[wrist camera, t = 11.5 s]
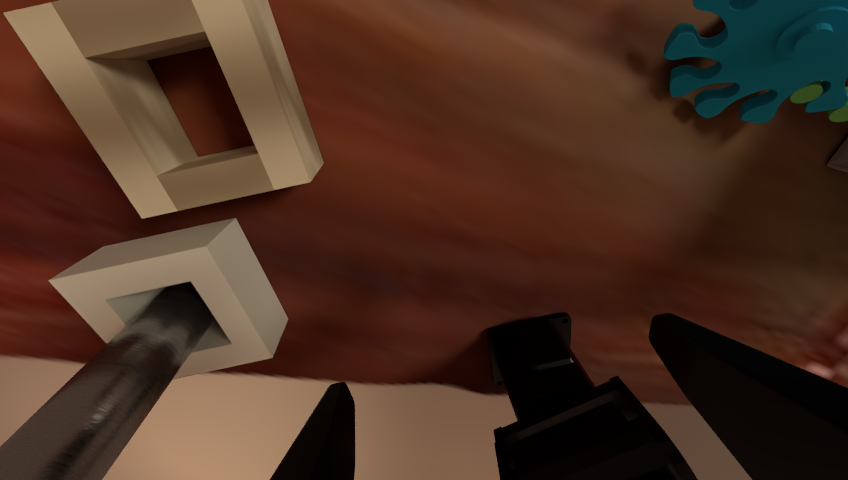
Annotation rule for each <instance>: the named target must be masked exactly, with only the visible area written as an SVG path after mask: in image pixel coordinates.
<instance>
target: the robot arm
mask: <svg viewBox="0 0 848 480" xmlns="http://www.w3.org/2000/svg"><path fill="white" fill-rule="evenodd" d="M563 319H564V320H563ZM493 334H494V335H493ZM487 340H488V348H489V355H490V363H491V370H492V378H493V382H494V385H495V386H496V387H502V386H505V388H506V391H507V393H508V396H509V399H510V401H511V404H512V407H513V409H514V412H515V415H516V418H517V422H515V423H512V424H510V425H508V426H506V427H503V428H502V427H499V428H497V429H495V430H494V436H495V441H496V442H495V450H496V456H497V462H498V468H499V474H500V480H697V478H696V476H695V475H694V473H693V472H692V470H691V468H690V467H689V465H688V464H687V462H686V460H685V459H684V458H683V456H682V455H681V453H680V452H679V450H678V449H677V447H676V446H675V445H674V443H673V442H672V441H671V439H670V438H669V437H668V435H667V434H666V433H665V431H664V430H663V429H662V428H661V426H660V425H659V424H658V423H657V422H656V420H655V419H654V418H653V417H652V416H651V415H650V413H649V412H648V411H647V410H646V409H645V407H644V406H643V405H642V404H641V403H640V402H639V400H638V399H637V398H636V397H635V396H634V395H633V393H632V392H631V391H630V390H629V389H628V388H627V386H626V385H625V384H624V383H623V382H622V380H621V379H620V378H619V377H618V376H615V377H613V378H611V379H609V380H610V381H608V382H606V383H604V384H601V385H599V386H597V387H595V385H594V384H593V382H592V381H591V379H590V378H589V376H588V375H587V373H586V372H585V370H584V369H583V367H582V365H581V364H580V362H579V361H578V359H577V358H576V356H575V355H574V353H573V352H572V350H571V349H570V341H571V318H570V316H569V315H568V314H567V313H559V314H555V315H550V316H545V317H541V318H536V319H531V320H527V321H522V322H517V323H513V324H508V325H503V326H499V327H494V328H491V329H489V330H488V331H487ZM649 340H650V343H651V345H652V346H653V348H654V349H655V351H656V352H657V354H658V355H659V357H660V359H661V360H662V362H663V363H664V365H665V366H666V368H667V369H668V371H669V372H670V374H671V375H672V377H673V378H674V380H675V381H676V383H677V384H678V386H679V387H680V389H681V390H682V392H683V393H684V394H685V396H686V397H687V398H688V400H689V401H690V402H691V403H692V405H693V406H694V407H695V408H696V410H697V411H698V412H699V413H700V415H701V416H702V417H703V418H704V420H705V421H706V422H707V423H708V425H709V426H710V427H711V428H712V430H713V431H714V432H715V433H716V434H717V436H718V437H719V438H720V440H721V441H722V442H723V443H724V445H725V446H726V447H727V448H728V450H729V451H730V452H731V453H732V455H733V456H734V457H735V458H736V460H737V461H738V462H739V463H740V465H741V466H742V467H743V468H744V470H745V471H746V472H747V473H748V475H749V476H750V477H751V478H752V480H848V388H846V387H844V386H842V385H839V384H837V383H834V382H832V381H830V380H827V379H825V378H823V377H820V376H818V375H816V374H813V373H811V372H808V371H806V370H804V369H801V368H799V367H797V366H794V365H792V364H790V363H787V362H785V361H782V360H780V359H778V358H775V357H773V356H771V355H768V354H766V353H764V352H761V351H759V350H756V349H754V348H752V347H749V346H747V345H745V344H742V343H740V342H738V341H735V340H733V339H731V338H728V337H726V336H723V335H721V334H719V333H716V332H714V331H712V330H709V329H707V328H705V327H702V326H700V325H697V324H695V323H693V322H690V321H688V320H686V319H683V318H681V317H679V316H676V315H674V314H671V313H664V314H659V315H655V316H654V317H653V318H652V321H651V326H650V331H649ZM354 473H355V404H354V400H353V397H352V396H351V393H350V391H349V389H348V387H347V385H346V383H345V382H340V383H335V384H332V385H330V386H329V388H328V389H327V391H326V392H325V394H324V396H323V397H322V398H321V400H320V402H319V403H318V405H317V406H316V408H315V410H314V411H313V413H312V414H311V416H310V417H309V419H308V421H307V422H306V424H305V425H304V427H303V428H302V430H301V432H300V433H299V435H298V436H297V438H296V439H295V441H294V442H293V444H292V446H291V447H290V449H289V450H288V452H287V454H286V455H285V457H284V458H283V460H282V461H281V463H280V464H279V466H278V468H277V469H276V471H275V473H274V474H273V475H272V477H271V479H270V480H354Z"/></svg>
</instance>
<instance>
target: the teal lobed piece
mask: <svg viewBox="0 0 848 480" xmlns="http://www.w3.org/2000/svg"><path fill="white" fill-rule="evenodd" d="M693 5H694V7H695V8H696V9H698V10H703V11H709V12H712V13H715V14H717V15H718V16H720V17H721V18H722V19H723V21H724V22H725V24H726V28H725V29H724V30H723V31H722V32H721V33H719V34H718V35H716V36H714V37H710V38H703V37H701V36H700V35H699V34H698V32H697V29H696V27H695V26H694V25H693V24H690V23H682V24H678V25H677V26H676V27H675V28H674V30H673V31H672V32H671V34H670V36H669V37H668V39H667V41H666V44H665V46H664V57H665V58H666V59H669V60H678V59H682V58H687V57H706V58H709V59H713V60H715V61H718V63H716V64H715V65H714V66H712V67H709V68H706V69H700V68H696V67H694V66H691V65H681V66H678V67H675V68H673V69H672V71H671V74H670V92H671V96H673V97H678V96H683V95H685V94H687V93H689V92H691V91H693V90H695V89H698V88H700V87H703V86H706V85H711V84H716V83H727V82H734V84H733V85H731V86H729V87H726V88H720V89H709V90H705V91H703V92H701V93H699V94H698V95H696V96H695V110H696V111H697V113H698V114H700V115H701V116H703V117H704V118H706V119H707V118H711V117H714V116H716V115H718V114H719V113H721V112H722V111H723V110H724V109H725V108H726V107H727V106H729V105H730V104H731V103H733V102H735V101H736V100H738V99H740V98H742V97H745V96H747V95H750V94H753V93H756V92H759V91H762V90H767V89H771V90H770V91H768V92H766V93H764V94H761V95H758V96H755V97H752V98H750V99H748V100H746V101H745V102H744V103H743V104H742V105H741V107H740V116H741V120H744V121H747V122H753V123H765V122H767V121H769V120H771V119H772V118H773V117H774V116H775V114H776V111H777V109H778V107H779V105H780V104H781V103H782V102H783V101H784V100H785V99H786V98H787V97H789V96H790V100H791V102H793V103H805V109H806V112H821V111H827V112H828V117H829V120H831V121H833V122H844V121H848V86H847V87H845V82H846V79H847V78H848V0H693Z"/></svg>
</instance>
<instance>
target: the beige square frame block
mask: <svg viewBox="0 0 848 480" xmlns="http://www.w3.org/2000/svg"><path fill="white" fill-rule="evenodd" d="M4 15H5V16H6V18H7V19H8V21H9V22H10V24H11V25H12V27H13V28H14V30H15V31H16V33H17V34H18V36H19V37H20V39H21V40H22V42H23V43H24V45H25V46H26V48H27V49H28V51H29V52H30V53H31V55H32V56H33V58H34V59H35V61H36V62H37V64H38V65H39V67H40V68H41V70H42V71H43V73H44V74H45V76H46V77H47V79H48V80H49V82H50V83H51V85H52V86H53V88H54V89H55V91H56V92H57V93H58V95H59V96H60V98H61V99H62V101H63V102H64V104H65V105H66V107H67V108H68V110H69V111H70V113H71V114H72V116H73V117H74V119H75V120H76V122H77V123H78V125H79V126H80V128H81V129H82V131H83V132H84V133H85V135H86V136H87V138H88V139H89V141H90V142H91V144H92V145H93V147H94V148H95V150H96V151H97V153H98V154H99V156H100V157H101V159H102V160H103V162H104V163H105V165H106V166H107V168H108V169H109V171H110V172H111V173H112V175H113V176H114V178H115V179H116V181H117V182H118V184H119V185H120V187H121V188H122V190H123V191H124V193H125V194H126V196H127V197H128V199H129V200H130V202H131V203H132V205H133V206H134V208H135V209H136V211H137V212H138V213H139V215H140V216H141V218H142V219H143V218H148V217H152V216H157V215H162V214H166V213H171V212H175V211H180V210H185V209H189V208H194V207H198V206H203V205H208V204H212V203H217V202H221V201H226V200H231V199H235V198H240V197H244V196H249V195H254V194H258V193H263V192H267V191H272V190H277V189H281V188H286V187H290V186H295V185H300V184H304V183H309V182H311V180H312V179H313V178H314V176H315V175H316V173H317V172H318V171H319V169H320V168H321V166H322V165H323V163H324V162H323V160H322V157H321V154H320V151H319V148H318V145H317V142H316V139H315V136H314V133H313V131H312V128H311V125H310V122H309V119H308V116H307V113H306V110H305V107H304V104H303V101H302V99H301V96H300V93H299V90H298V87H297V84H296V81H295V78H294V75H293V72H292V70H291V67H290V64H289V61H288V58H287V55H286V52H285V49H284V46H283V43H282V41H281V38H280V35H279V32H278V29H277V26H276V23H275V20H274V17H273V14H272V12H271V9H270V6H269V3H268V0H59V1H55V2H50V3H46V4H41V5H37V6H32V7H28V8H23V9H19V10H14V11H10V12H5V13H4ZM210 46H212V48H213V50H214V53H215V55H216V57H217V60H218V62H219V64H220V66H221V69H222V71H223V73H224V76H225V78H226V80H227V83H228V85H229V87H230V89H231V92H232V94H233V96H234V99H235V101H236V103H237V105H238V108H239V110H240V112H241V115H242V117H243V119H244V121H245V124H246V126H247V128H248V131H249V133H250V135H251V137H252V140H253V142H254V144H255V145H252V146H247V147H242V148H238V149H233V150H229V151H224V152H219V153H215V154H210V155H206V156H201V157H198V156H197V154H196V152H195V150H194V149H193V147H192V145H191V143H190V141H189V139H188V137H187V135H186V133H185V132H184V130H183V128H182V126H181V124H180V122H179V120H178V118H177V116H176V115H175V113H174V111H173V109H172V107H171V105H170V103H169V101H168V99H167V98H166V96H165V94H164V92H163V90H162V88H161V86H160V84H159V82H158V81H157V79H156V77H155V75H154V73H153V71H152V69H151V67H150V65H149V63H148V62H147V60H151V59H156V58H160V57H165V56H169V55H174V54H178V53H183V52H188V51H192V50H197V49H201V48H206V47H210Z"/></svg>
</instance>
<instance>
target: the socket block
mask: <svg viewBox="0 0 848 480" xmlns="http://www.w3.org/2000/svg"><path fill="white" fill-rule="evenodd" d="M48 281H49V282H50V283H51V284H52V285H53V286H54V287H55V288H56V289H57V290H58V292H59V293H60V294H61V295H62V296H63V297H64V298H65V299H66V300H67V301H68V302H69V303H70V305H71V306H72V307H73V308H74V309H75V310H76V311H77V312H78V313H79V314H80V315H81V316H82V318H83V319H84V320H85V321H86V322H87V323H88V324H89V325H90V326H91V327H92V328H93V329H94V331H95V332H96V333H97V334H98V335H99V336H100V337H101V338H102V339H103V340H104V341H105V342H106V344H107V343H108V342H109V341H110V340H111V339H112V338H114V337H115V336H116V335H117V334H118V333H119V332H120V331H121V330H122V329H123V328H124V327H125V326H126V325H127V324H128V323H129V322H130V321H131V320H132V319H133V318H134V317H135V316H136V315H137V314H138V313H139V312H140V311H141V310H143V309H144V308H145V307H146V306H147V305H148V304H149V303H150V302H151V301H152V300H153V299H154V298H155V297H156V296H157V295H158V294H159V293H160V292H161V291H162V290H163V289H164V288H165V287H166V286H171V285H175V284H180V283H185V282H189V281H191V282H192V284H193V285H194V287H195V288H196V290H197V292H198V293H199V295H200V296H201V298H202V299H203V301H204V302H205V304H206V305H207V307H208V308H209V310H210V311H211V313H212V314H213V316H214V317H215V320H214V321H213V322H212V324H211V325H210V327H209V328H208V329H207V331H206V332H205V334H204V335H203V337H202V338H201V339H200V341H199V342H198V344H197V345H196V347H195V348H194V349H193V351H192V352H191V354H190V355H189V356H188V358H187V359H186V361H185V362H184V364H183V365H182V366H181V368H180V369H179V371H178V372H177V374H176V375H175V376H174V378H173V379H177V378H181V377H186V376H191V375H195V374H200V373H205V372H209V371H214V370H219V369H223V368H228V367H233V366H237V365H242V364H246V363H251V362H256V361H260V360H265V359H270V358H273V356H274V353H275V351H276V348H277V346H278V343H279V341H280V338H281V336H282V333H283V331H284V328H285V326H286V323H287V321H288V317H287V315H286V314H285V312H284V310H283V308H282V306H281V304H280V302H279V300H278V298H277V296H276V294H275V292H274V290H273V289H272V287H271V285H270V283H269V281H268V279H267V277H266V275H265V273H264V271H263V269H262V267H261V265H260V264H259V262H258V260H257V258H256V256H255V254H254V252H253V250H252V248H251V246H250V244H249V242H248V241H247V239H246V237H245V235H244V233H243V231H242V229H241V227H240V225H239V223H238V221H237V219H236V218H232V219H228V220H223V221H219V222H214V223H209V224H205V225H200V226H196V227H191V228H186V229H182V230H177V231H173V232H168V233H163V234H159V235H154V236H150V237H145V238H140V239H136V240H131V241H126V242H122V243H117V244H113V245H108V246H104V247H102V248H100V249H99V250H97V251H95V252H94V253H92V254H91V255H89V256H87V257H86V258H84V259H82V260H81V261H79V262H78V263H76V264H74V265H73V266H71V267H69V268H68V269H66V270H65V271H63V272H61V273H60V274H58V275H56V276H55V277H53V278H52V279H50V280H48Z"/></svg>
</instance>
